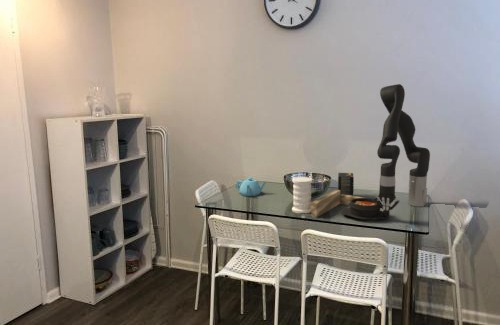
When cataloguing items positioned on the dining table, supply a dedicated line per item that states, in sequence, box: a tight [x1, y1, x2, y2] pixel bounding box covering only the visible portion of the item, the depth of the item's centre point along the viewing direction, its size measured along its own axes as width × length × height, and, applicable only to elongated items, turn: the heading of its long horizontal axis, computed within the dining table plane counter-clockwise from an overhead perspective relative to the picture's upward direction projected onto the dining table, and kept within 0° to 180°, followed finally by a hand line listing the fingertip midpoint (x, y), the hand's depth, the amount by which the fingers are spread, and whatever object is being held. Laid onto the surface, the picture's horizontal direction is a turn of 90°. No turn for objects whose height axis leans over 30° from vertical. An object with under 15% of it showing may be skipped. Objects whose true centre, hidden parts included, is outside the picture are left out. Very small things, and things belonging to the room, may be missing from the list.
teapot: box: [234, 177, 267, 197], centre depth 268 cm, size 15×15×11 cm
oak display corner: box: [310, 189, 365, 219], centre depth 228 cm, size 18×32×8 cm, turn 143°
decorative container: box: [291, 176, 313, 214], centre depth 231 cm, size 12×12×18 cm
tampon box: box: [337, 172, 355, 196], centre depth 254 cm, size 11×9×15 cm
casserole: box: [340, 197, 390, 221], centre depth 219 cm, size 25×19×8 cm
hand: (386, 216), depth 212 cm, fingers closed
